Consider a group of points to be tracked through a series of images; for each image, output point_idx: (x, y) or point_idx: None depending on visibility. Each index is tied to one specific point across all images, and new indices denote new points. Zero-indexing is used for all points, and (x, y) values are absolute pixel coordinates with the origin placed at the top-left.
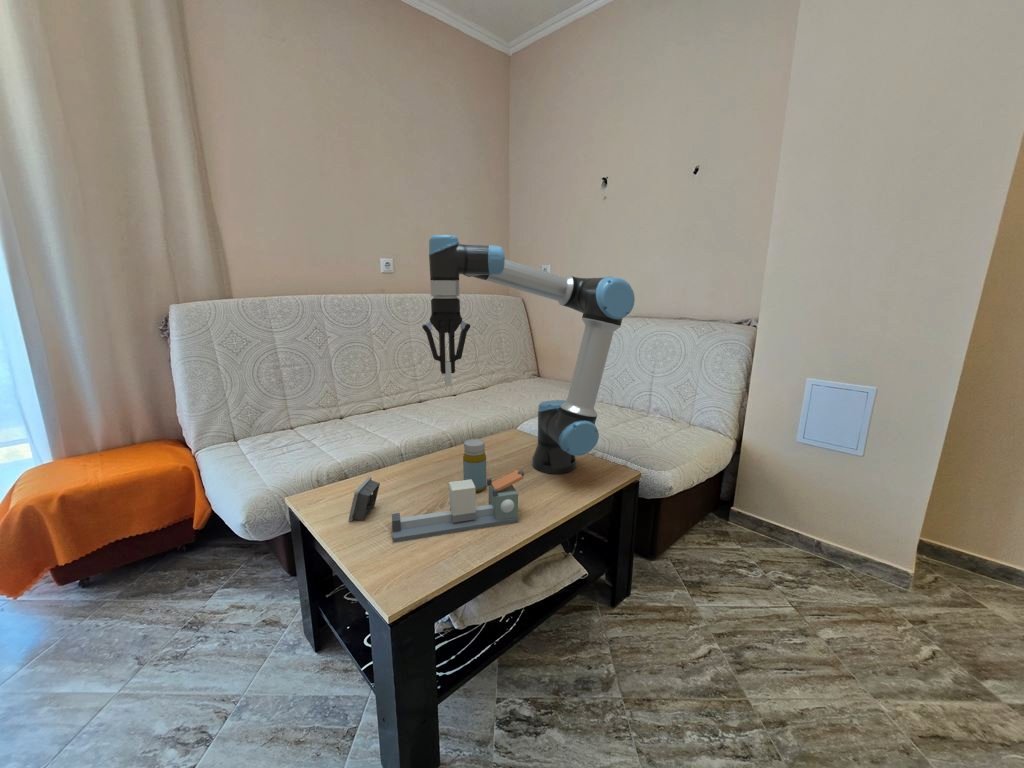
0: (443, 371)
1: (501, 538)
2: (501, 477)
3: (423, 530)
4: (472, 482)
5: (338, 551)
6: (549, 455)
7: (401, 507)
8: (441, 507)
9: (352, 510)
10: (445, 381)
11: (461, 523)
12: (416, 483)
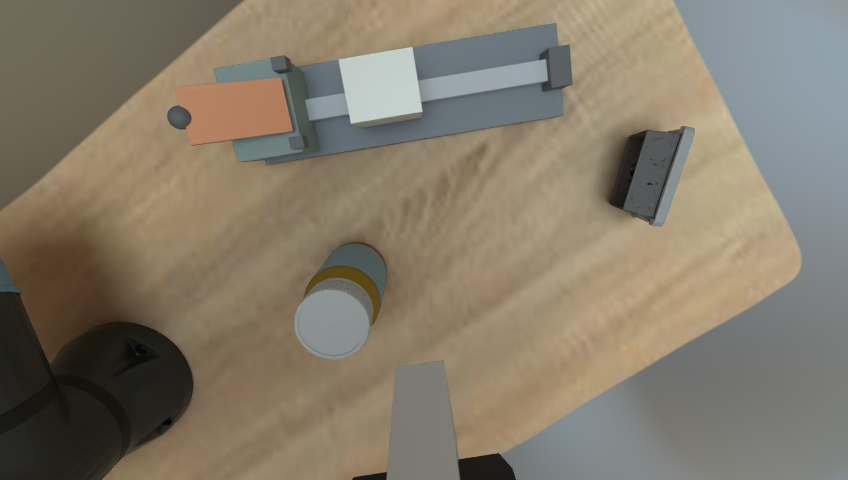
0: (484, 477)
1: (295, 8)
2: (254, 136)
3: (485, 49)
4: (347, 98)
5: (671, 8)
6: (111, 362)
7: (542, 191)
8: (443, 178)
9: (670, 131)
10: (452, 417)
11: None
12: (511, 312)
